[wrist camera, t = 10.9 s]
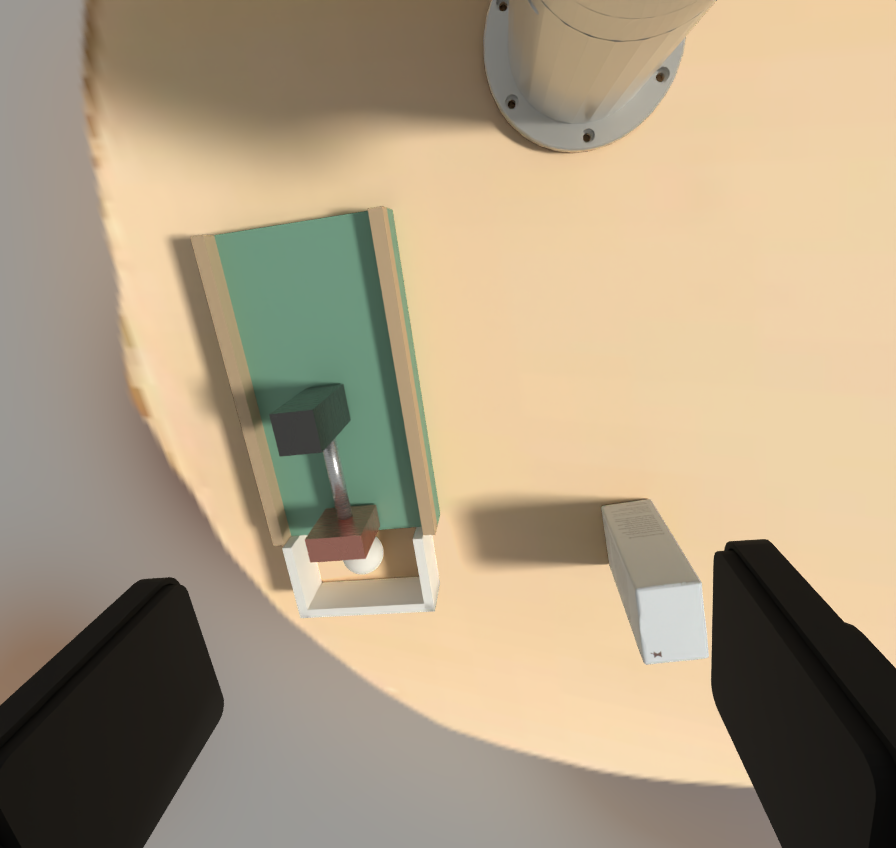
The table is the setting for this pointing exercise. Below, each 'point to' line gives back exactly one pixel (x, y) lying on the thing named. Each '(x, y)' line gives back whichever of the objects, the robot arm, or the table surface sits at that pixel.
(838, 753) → the robot arm
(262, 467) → the pitch board
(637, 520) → the skincare box
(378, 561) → the ball
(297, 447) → the kicker rod
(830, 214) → the table surface
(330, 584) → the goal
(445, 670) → the table surface
